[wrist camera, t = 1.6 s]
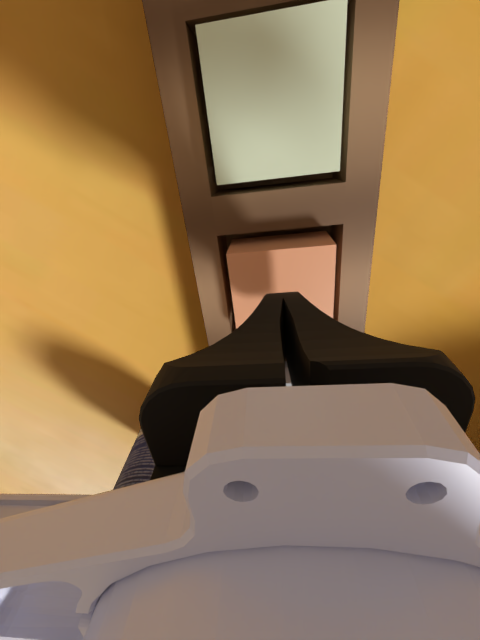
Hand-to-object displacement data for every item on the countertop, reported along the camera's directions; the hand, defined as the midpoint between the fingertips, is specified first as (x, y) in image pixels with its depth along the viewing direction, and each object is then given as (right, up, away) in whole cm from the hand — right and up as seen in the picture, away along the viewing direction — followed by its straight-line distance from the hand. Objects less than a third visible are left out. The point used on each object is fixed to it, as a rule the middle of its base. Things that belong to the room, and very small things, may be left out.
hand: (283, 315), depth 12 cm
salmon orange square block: (0, +2, +3) cm, 4 cm away
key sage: (0, +8, 0) cm, 8 cm away
